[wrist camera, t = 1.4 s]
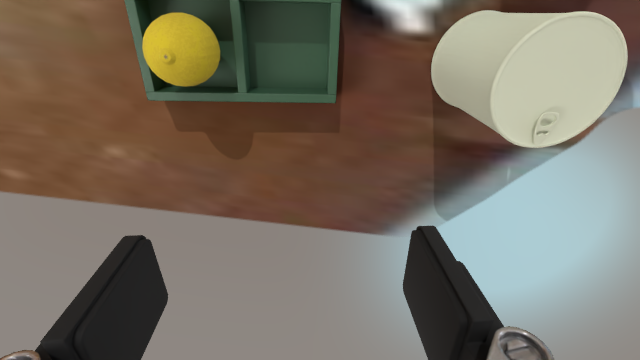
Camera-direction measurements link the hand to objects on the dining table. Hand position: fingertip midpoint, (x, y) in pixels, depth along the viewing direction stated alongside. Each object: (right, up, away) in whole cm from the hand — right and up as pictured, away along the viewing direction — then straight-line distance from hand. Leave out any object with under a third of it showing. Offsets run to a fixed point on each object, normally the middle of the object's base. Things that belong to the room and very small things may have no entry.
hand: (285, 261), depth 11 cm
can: (+17, +15, +20) cm, 30 cm away
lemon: (-10, +16, +18) cm, 26 cm away
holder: (-6, +16, +18) cm, 25 cm away
